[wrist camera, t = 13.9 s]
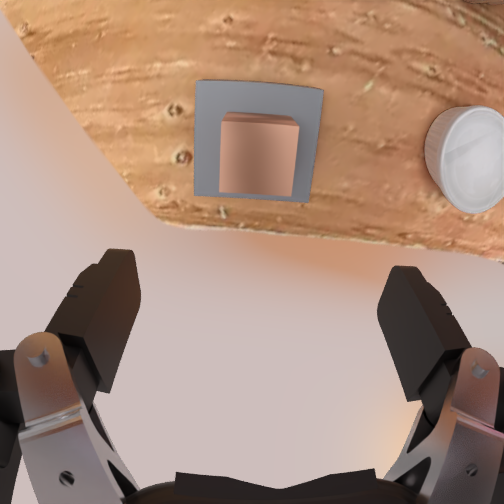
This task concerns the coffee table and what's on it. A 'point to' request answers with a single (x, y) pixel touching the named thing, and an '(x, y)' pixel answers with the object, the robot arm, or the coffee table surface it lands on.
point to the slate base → (253, 101)
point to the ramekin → (467, 156)
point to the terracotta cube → (257, 153)
